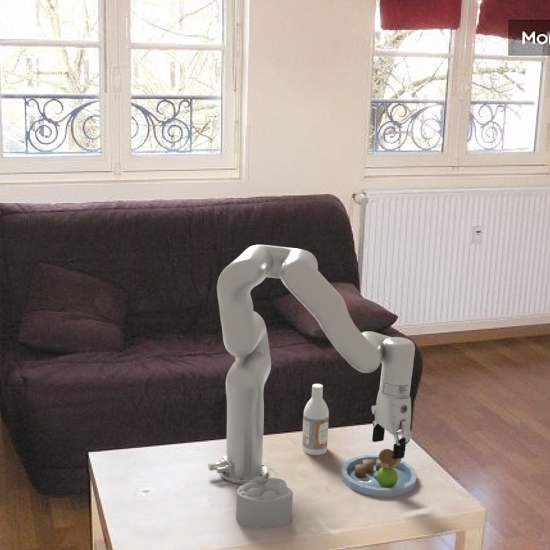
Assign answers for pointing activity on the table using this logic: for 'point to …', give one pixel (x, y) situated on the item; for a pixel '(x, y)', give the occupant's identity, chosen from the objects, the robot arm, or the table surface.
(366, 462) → the bead
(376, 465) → the bead
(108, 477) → the table surface
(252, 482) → the lumpy-topped squat cylinder
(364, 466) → the bead
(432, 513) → the table surface
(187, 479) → the table surface
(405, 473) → the tray
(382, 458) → the snail figurine
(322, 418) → the bath foam
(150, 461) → the table surface
